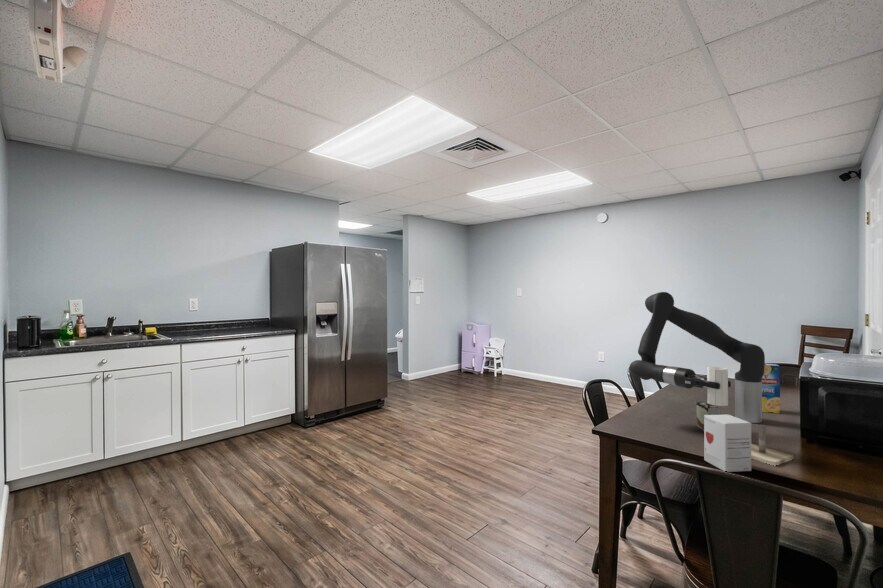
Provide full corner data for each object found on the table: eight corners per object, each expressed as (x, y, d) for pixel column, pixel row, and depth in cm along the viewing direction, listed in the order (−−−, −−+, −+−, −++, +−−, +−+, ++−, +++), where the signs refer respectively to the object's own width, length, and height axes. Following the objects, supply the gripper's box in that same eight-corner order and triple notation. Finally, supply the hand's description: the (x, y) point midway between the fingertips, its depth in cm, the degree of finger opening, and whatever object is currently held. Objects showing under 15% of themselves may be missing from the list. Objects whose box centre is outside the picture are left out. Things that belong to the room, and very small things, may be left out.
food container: (727, 435, 150) (726, 409, 150) (709, 434, 152) (709, 408, 152) (711, 425, 162) (711, 401, 163) (695, 424, 164) (695, 400, 164)
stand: (751, 446, 139) (751, 418, 139) (793, 459, 128) (793, 428, 128) (732, 452, 134) (732, 422, 134) (774, 466, 123) (774, 433, 123)
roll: (713, 400, 146) (713, 366, 146) (731, 404, 141) (731, 368, 141) (703, 402, 144) (703, 367, 144) (722, 406, 138) (721, 370, 138)
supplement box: (702, 460, 128) (702, 414, 128) (728, 459, 128) (728, 413, 129) (725, 472, 119) (725, 423, 119) (752, 471, 119) (752, 422, 119)
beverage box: (780, 413, 179) (780, 365, 179) (751, 411, 183) (751, 364, 183) (773, 409, 186) (773, 363, 186) (745, 407, 189) (745, 362, 189)
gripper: (667, 368, 152) (712, 376, 137) (690, 365, 158) (736, 373, 143) (667, 388, 152) (713, 398, 137) (690, 384, 158) (736, 393, 143)
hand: (724, 385), depth 140 cm, fingers closed on roll, 6 cm apart
